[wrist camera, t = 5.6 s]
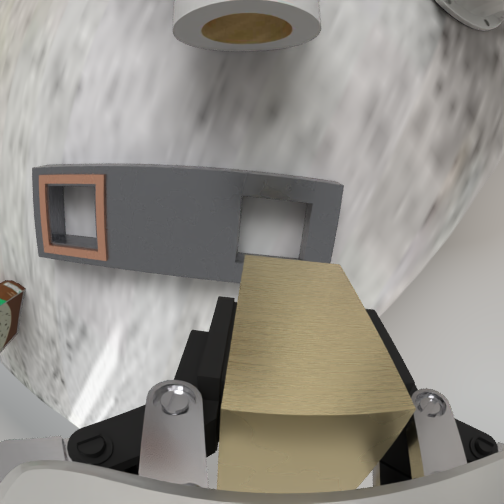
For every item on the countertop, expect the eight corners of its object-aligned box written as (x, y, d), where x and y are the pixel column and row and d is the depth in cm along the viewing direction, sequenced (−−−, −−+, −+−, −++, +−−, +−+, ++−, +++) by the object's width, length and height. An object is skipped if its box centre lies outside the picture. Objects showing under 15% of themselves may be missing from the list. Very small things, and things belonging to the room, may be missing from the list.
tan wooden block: (339, 264, 12) (416, 409, 5) (321, 341, 14) (354, 490, 6) (244, 254, 12) (221, 409, 5) (237, 334, 14) (216, 490, 6)
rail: (336, 181, 25) (344, 185, 22) (319, 278, 28) (325, 292, 25) (47, 164, 24) (30, 168, 22) (51, 248, 27) (37, 257, 25)
